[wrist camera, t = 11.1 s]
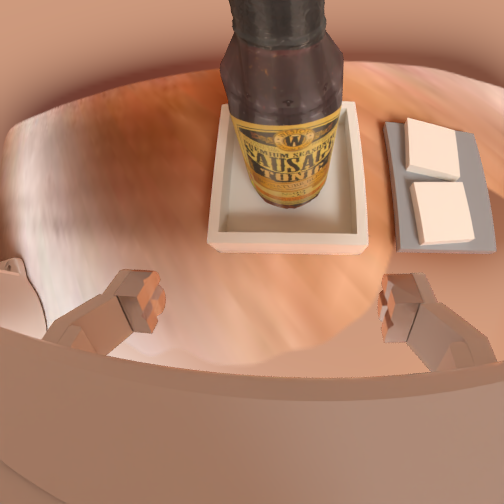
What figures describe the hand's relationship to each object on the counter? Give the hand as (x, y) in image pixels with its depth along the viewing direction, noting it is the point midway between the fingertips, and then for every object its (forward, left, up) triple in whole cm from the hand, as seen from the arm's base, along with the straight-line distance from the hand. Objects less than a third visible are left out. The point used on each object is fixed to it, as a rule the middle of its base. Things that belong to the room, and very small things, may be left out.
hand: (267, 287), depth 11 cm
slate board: (+14, +10, -14) cm, 22 cm away
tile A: (+13, +7, -13) cm, 20 cm away
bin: (0, +10, -14) cm, 17 cm away
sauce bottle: (0, +10, -13) cm, 17 cm away
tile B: (+13, +13, -13) cm, 23 cm away
